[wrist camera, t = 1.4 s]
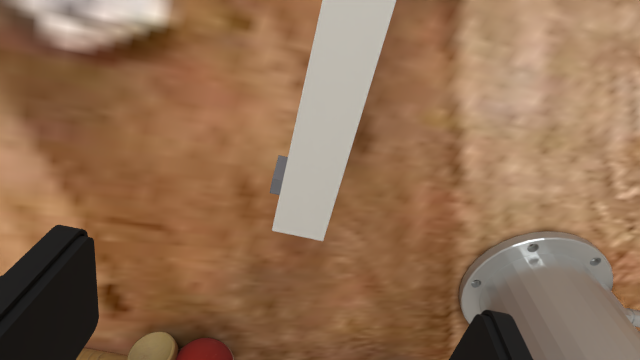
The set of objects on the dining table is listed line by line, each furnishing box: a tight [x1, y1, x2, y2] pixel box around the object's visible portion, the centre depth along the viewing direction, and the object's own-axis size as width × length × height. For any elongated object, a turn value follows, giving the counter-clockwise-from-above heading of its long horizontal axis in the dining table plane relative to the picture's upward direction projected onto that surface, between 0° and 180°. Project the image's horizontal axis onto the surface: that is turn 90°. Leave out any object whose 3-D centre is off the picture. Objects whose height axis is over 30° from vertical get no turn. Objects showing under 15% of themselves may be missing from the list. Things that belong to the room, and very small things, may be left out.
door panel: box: [270, 0, 396, 241], centre depth 24 cm, size 4×14×9 cm, turn 167°
